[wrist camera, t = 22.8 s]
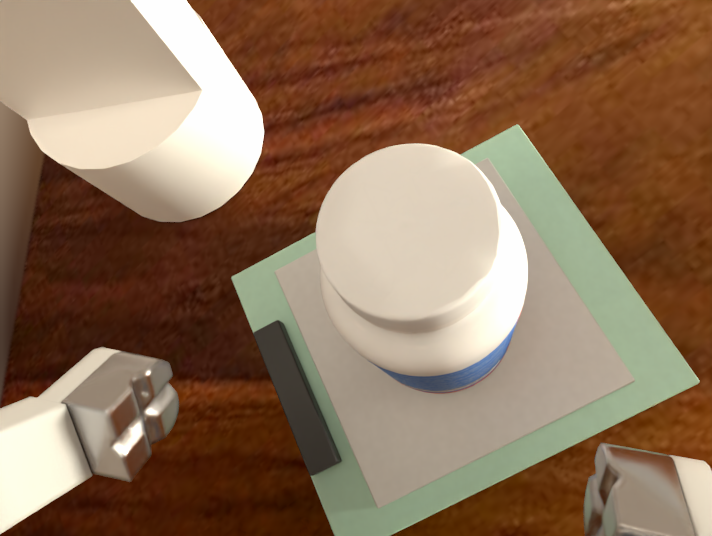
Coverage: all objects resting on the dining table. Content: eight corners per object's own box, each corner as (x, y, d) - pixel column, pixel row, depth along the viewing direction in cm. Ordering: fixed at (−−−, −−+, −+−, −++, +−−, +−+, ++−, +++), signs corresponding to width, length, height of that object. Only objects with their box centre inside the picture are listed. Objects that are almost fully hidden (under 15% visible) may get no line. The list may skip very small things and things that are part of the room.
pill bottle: (540, 356, 19) (602, 289, 10) (404, 419, 19) (341, 412, 10) (468, 229, 21) (465, 74, 12) (346, 289, 21) (249, 184, 12)
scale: (356, 545, 21) (338, 564, 18) (251, 290, 25) (222, 272, 22) (677, 387, 20) (710, 380, 18) (514, 150, 25) (519, 113, 22)
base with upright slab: (103, 231, 28) (-144, 100, 17) (119, 87, 31) (-84, -109, 20) (262, 212, 26) (106, 52, 15) (265, 61, 29) (134, -170, 18)
